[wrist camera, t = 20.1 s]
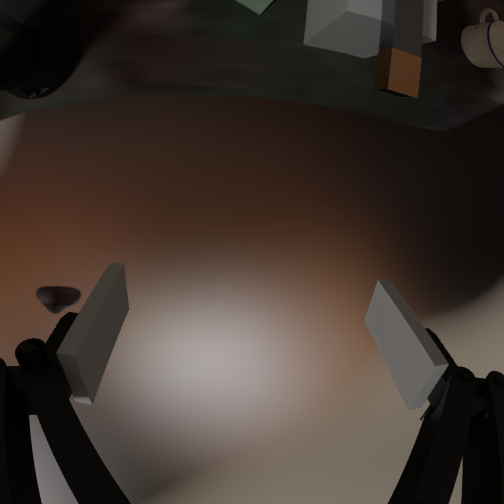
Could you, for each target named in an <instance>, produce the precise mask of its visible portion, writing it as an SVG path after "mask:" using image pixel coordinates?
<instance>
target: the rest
mask: <svg viewBox="0 0 504 504" xmlns="http://www.w3.org/2000/svg"><path fill="white" fill-rule="evenodd" d="M381 16H382V0H308V7H307V17H306V26H305V36H304V45H307V46H313V47H318V48H323V49H328V50H333V51H337V52H342V53H346V54H350V55H354V56H358V57H362V58H367V57H371V56H374V55H378V52H379V41H380V29H381ZM436 25H437V0H424V11H423V33H422V44H423V43H428V42H433V41H436Z"/></svg>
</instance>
